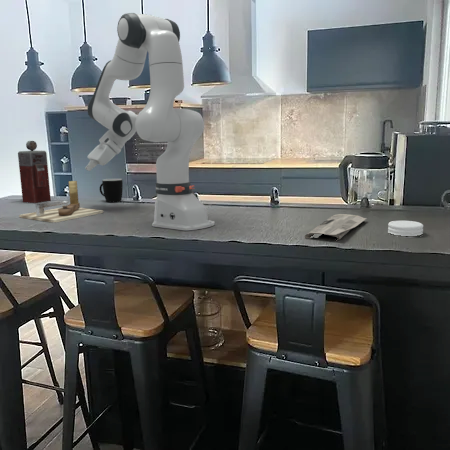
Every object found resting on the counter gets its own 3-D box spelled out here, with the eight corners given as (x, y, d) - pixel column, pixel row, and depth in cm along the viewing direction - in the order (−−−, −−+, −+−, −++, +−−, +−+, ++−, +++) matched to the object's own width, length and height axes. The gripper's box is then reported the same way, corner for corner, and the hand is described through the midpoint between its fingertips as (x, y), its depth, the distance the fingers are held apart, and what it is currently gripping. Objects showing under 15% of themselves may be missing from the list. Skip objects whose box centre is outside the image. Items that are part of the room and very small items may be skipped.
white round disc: (427, 233, 144) (428, 222, 144) (415, 239, 137) (416, 228, 136) (395, 229, 151) (396, 218, 150) (382, 235, 144) (382, 223, 143)
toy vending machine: (38, 203, 215) (32, 141, 210) (22, 202, 221) (16, 141, 215) (54, 200, 223) (49, 140, 217) (38, 199, 228) (33, 140, 223)
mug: (127, 200, 220) (126, 178, 218) (115, 203, 212) (113, 180, 210) (107, 199, 225) (105, 178, 223) (94, 202, 217) (92, 180, 215)
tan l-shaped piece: (70, 214, 177) (67, 185, 175) (56, 215, 177) (54, 185, 175) (82, 207, 193) (80, 180, 191) (70, 207, 193) (67, 181, 191)
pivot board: (103, 212, 188) (103, 210, 188) (54, 222, 170) (53, 220, 170) (69, 208, 200) (68, 206, 200) (19, 217, 181) (19, 214, 181)
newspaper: (332, 219, 170) (332, 210, 169) (367, 222, 164) (368, 212, 164) (303, 241, 139) (303, 229, 138) (345, 245, 134) (346, 232, 133)
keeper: (74, 214, 181) (73, 200, 180) (52, 218, 173) (51, 204, 172) (58, 211, 186) (57, 198, 185) (36, 215, 178) (35, 202, 177)
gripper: (98, 138, 202) (76, 162, 200) (110, 140, 184) (86, 166, 182) (109, 148, 205) (87, 172, 202) (122, 151, 187) (98, 177, 185)
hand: (87, 169), depth 192 cm, fingers closed
